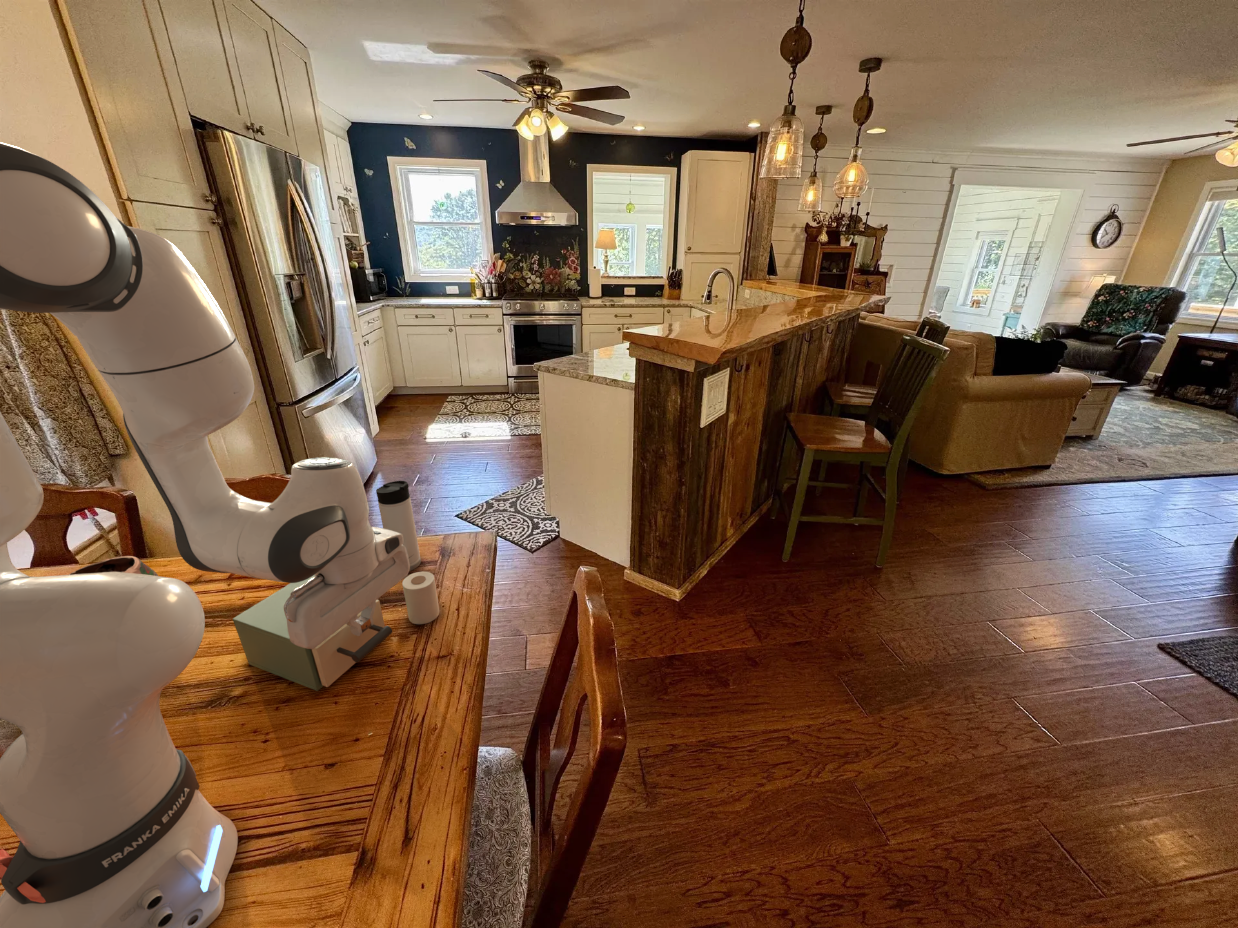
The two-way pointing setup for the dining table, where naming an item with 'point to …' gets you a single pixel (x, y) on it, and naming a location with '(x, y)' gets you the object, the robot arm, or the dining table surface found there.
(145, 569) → the decorative planter
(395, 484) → the travel mug
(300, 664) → the cabinet
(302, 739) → the dining table surface
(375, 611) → the drawer
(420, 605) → the paper towel roll
